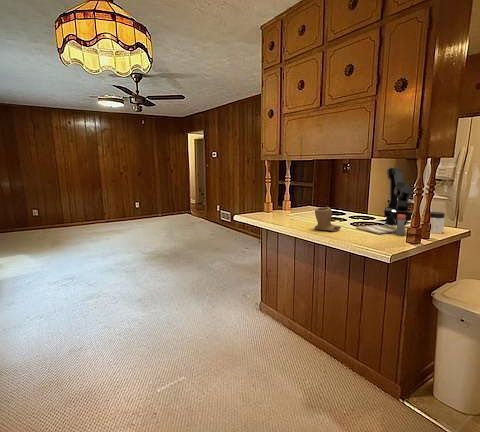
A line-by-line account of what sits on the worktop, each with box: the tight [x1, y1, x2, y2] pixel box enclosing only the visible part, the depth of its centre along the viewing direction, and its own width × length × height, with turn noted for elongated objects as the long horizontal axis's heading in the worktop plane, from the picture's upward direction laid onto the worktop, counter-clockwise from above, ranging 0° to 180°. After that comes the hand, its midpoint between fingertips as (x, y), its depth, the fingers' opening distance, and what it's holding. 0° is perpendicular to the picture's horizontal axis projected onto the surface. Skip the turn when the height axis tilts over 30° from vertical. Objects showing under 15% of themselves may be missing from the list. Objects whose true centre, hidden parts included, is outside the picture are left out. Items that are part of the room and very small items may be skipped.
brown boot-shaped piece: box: [314, 206, 342, 232], centre depth 189 cm, size 15×12×15 cm
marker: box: [395, 214, 407, 237], centre depth 175 cm, size 4×4×12 cm
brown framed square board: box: [355, 224, 397, 236], centre depth 189 cm, size 19×19×2 cm
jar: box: [430, 211, 446, 234], centre depth 182 cm, size 9×8×12 cm
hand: (400, 224), depth 173 cm, fingers closed on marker, 4 cm apart
